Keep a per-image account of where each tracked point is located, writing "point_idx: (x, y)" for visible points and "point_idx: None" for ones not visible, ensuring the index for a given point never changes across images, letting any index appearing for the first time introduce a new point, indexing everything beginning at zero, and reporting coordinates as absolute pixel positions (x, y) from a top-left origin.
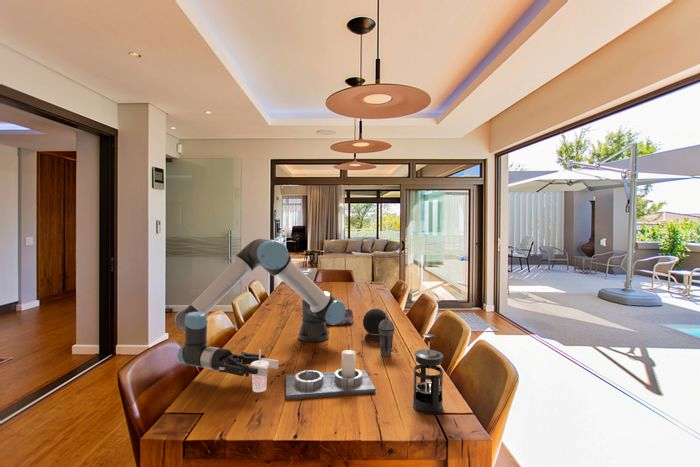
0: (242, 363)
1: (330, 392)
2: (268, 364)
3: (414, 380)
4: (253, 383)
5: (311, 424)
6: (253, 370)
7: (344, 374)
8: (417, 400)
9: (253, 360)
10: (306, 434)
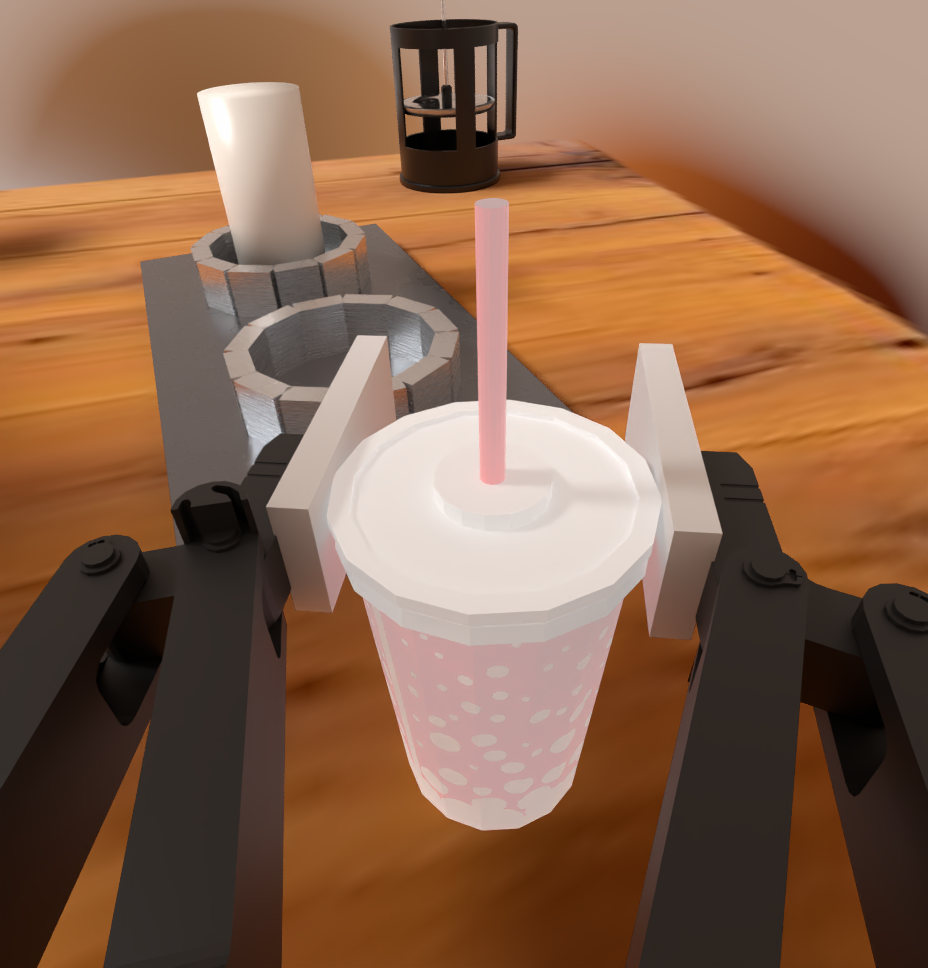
0: (685, 751)
1: (459, 305)
2: (462, 412)
3: (463, 77)
4: (587, 725)
5: (769, 327)
6: (756, 486)
7: (315, 236)
8: (485, 147)
9: (261, 713)
10: (857, 322)
